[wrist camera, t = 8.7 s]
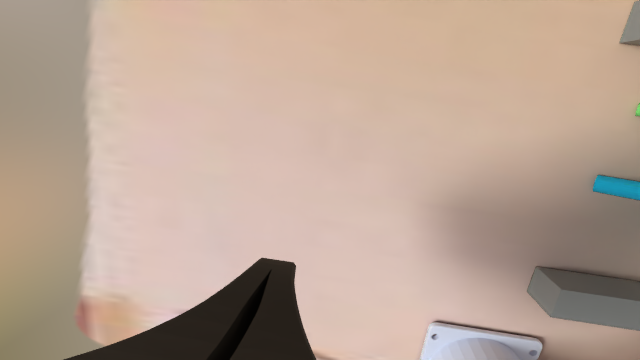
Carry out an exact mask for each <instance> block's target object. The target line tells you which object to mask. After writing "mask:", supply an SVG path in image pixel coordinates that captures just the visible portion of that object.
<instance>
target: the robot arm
mask: <svg viewBox="0 0 640 360" xmlns="http://www.w3.org/2000/svg"><path fill="white" fill-rule="evenodd" d="M295 270H296V265H295V264H294V263H293V262H287V261H280V260H273V259H267V258H261V259H259V260H258V261H257V262H256V263H254V264H253V265H252V266H251V267H250V268H248V269H247V270H246V271H245V272H244V273H242V274H241V275H240V276H239V277H237V278H236V279H235V280H233V281H232V282H231V283H230V284H228V285H227V286H226V287H224V288H223V289H221V290H220V291H218V292H217V293H216V294H214V295H213V296H211V297H210V298H208V299H207V300H205V301H204V302H202V303H200V304H199V305H197V306H195V307H194V308H192V309H190V310H188V311H186V312H185V313H183V314H181V315H179V316H177V317H175V318H173V319H171V320H169V321H166V322H164V323H162V324H160V325H158V326H156V327H154V328H152V329H150V330H147V331H145V332H142V333H140V334H137V335H135V336H133V337H130V338H127V339H125V340H122V341H119V342H117V343H114V344H111V345H108V346H106V347H103V348H100V349H96V350H93V351H90V352H87V353H84V354H81V355H77V356H74V357H71V358H68V359H64V360H316V358H315V356H314V354H313V352H312V349H311V347H310V344H309V342H308V339H307V337H306V334H305V331H304V328H303V325H302V321H301V318H300V314H299V310H298V305H297V300H296V294H295V286H294V279H295ZM433 334H437V335H435V336H432V335H433ZM542 347H543V345H542V343H541V342H540V341H539V340H538V339H537V338H532V337H526V336H520V335H513V334H507V333H501V332H494V331H488V330H482V329H475V328H469V327H463V326H456V325H450V324H444V323H437V322H434V323H431V324H430V325H429V327H428V330H427V334H426V338H425V341H424V345H423V349H422V352H421V356H420V360H538V357H539V355H540V352H541V350H542ZM531 350H532V351H531Z"/></svg>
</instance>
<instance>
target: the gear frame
mask: <svg viewBox="0 0 640 360" xmlns="http://www.w3.org/2000/svg"><path fill="white" fill-rule="evenodd" d="M620 43H623V44H632V45H640V0H639V1H636V2H634V5H633V8H632V10H631V13H630V16H629V18H628V21H627V24H626V26H625V29H624V32H623V34H622V37H621V40H620ZM527 292H528V293H529V294H530V295H531V297H532V298H533V299H534V300H535V301H536V302H537V303H538V304H539V305H540V306H541V308H542V309H543V310H544V311H545V312H546V313H547V314H548V315H549V316H550V317H553V318H559V319H566V320H572V321H579V322H585V323H592V324H598V325H605V326H611V327H618V328H624V329H631V330H637V331H640V282H638V281H631V280H625V279H618V278H611V277H604V276H597V275H591V274H584V273H577V272H570V271H563V270H557V269H550V268H543V267H536V268H535V271H534V274H533V276H532V279H531V282H530V284H529V287H528V290H527Z"/></svg>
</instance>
